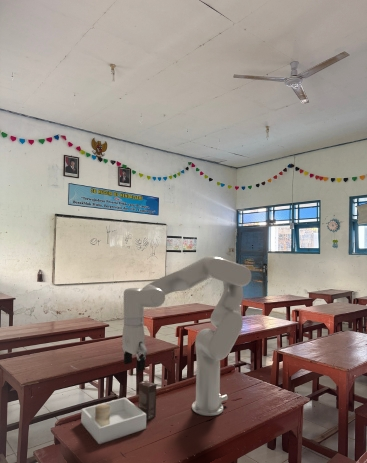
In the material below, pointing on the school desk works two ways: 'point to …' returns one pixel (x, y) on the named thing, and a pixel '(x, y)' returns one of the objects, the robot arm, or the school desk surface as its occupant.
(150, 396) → the box
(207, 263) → the robot arm
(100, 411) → the beige piece
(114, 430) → the tote
